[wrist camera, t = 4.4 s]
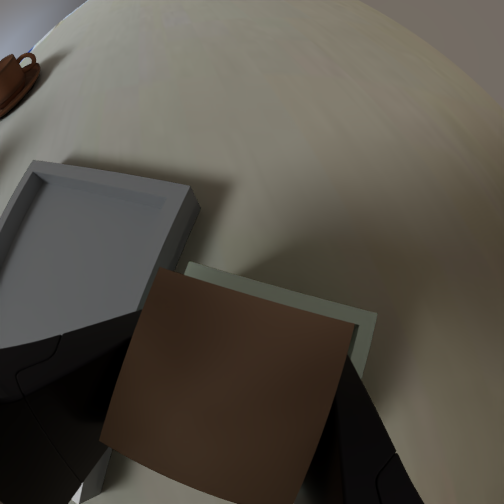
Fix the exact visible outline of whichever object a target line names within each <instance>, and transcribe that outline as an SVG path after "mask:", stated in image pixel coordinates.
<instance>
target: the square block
mask: <svg viewBox="0 0 504 504" xmlns="http://www.w3.org/2000/svg"><path fill="white" fill-rule="evenodd" d="M354 325H355V324H354V323H350V322H346V321H342V320H339V319H335V318H331V317H327V316H323V315H320V314H316V313H312V312H309V311H305V310H301V309H298V308H294V307H290V306H287V305H283V304H280V303H276V302H273V301H269V300H266V299H262V298H259V297H255V296H252V295H249V294H245V293H242V292H239V291H235V290H232V289H229V288H225V287H222V286H219V285H215V284H212V283H209V282H206V281H202V280H199V279H196V278H193V277H190V276H186V275H183V274H180V273H177V272H174V271H171V270H168V269H165V268H162V267H159V269H158V272H157V274H156V276H155V279H154V281H153V284H152V286H151V289H150V291H149V294H148V296H147V299H146V301H145V304H144V307H143V309H142V312H141V314H140V317H139V320H138V322H137V325H136V328H135V330H134V333H133V336H132V339H131V342H130V344H129V347H128V350H127V353H126V356H125V359H124V361H123V364H122V367H121V370H120V373H119V376H118V379H117V382H116V385H115V389H114V392H113V395H112V398H111V401H110V405H109V408H108V411H107V414H106V418H105V421H104V425H103V428H102V432H101V435H100V439H99V441H100V442H102V443H104V444H105V445H107V446H109V447H110V448H112V449H114V450H115V451H117V452H119V453H121V454H123V455H124V456H126V457H128V458H130V459H132V460H134V461H135V462H137V463H139V464H141V465H143V466H145V467H147V468H149V469H151V470H153V471H155V472H157V473H160V474H162V475H164V476H166V477H168V478H170V479H173V480H175V481H177V482H180V483H182V484H184V485H187V486H189V487H192V488H194V489H197V490H199V491H202V492H205V493H207V494H210V495H213V496H216V497H218V498H221V499H224V500H227V501H230V502H234V503H237V504H293V503H294V501H295V499H296V497H297V494H298V492H299V490H300V488H301V485H302V483H303V481H304V478H305V476H306V473H307V471H308V469H309V466H310V464H311V461H312V459H313V456H314V453H315V451H316V448H317V445H318V443H319V440H320V437H321V435H322V432H323V429H324V426H325V423H326V420H327V418H328V415H329V412H330V409H331V406H332V403H333V399H334V396H335V393H336V390H337V387H338V383H339V380H340V377H341V373H342V370H343V367H344V363H345V360H346V356H347V352H348V349H349V345H350V341H351V337H352V333H353V329H354Z"/></svg>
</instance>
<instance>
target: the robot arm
mask: <svg viewBox="0 0 504 504" xmlns="http://www.w3.org/2000/svg"><path fill="white" fill-rule="evenodd" d="M141 312H142V309H141V310H138V311H134V312H131V313H128V314H125V315H122V316H119V317H115V318H112V319H109V320H106V321H102V322H99V323H96V324H93V325H89V326H86V327H83V328H80V329H76V330H73V331H70V332H66V333H63V334H62V335H61V334H59V335H56V336H53V337H49V338H46V339H42V340H38V341H35V342H31V343H26V344H22V345H17V346H12V347H7V348H1V349H0V504H68V503H69V502H70V500H71V499H72V498H73V496H74V495H75V493H76V492H77V491H78V489H79V488H80V486H81V485H82V483H83V482H84V481H85V479H86V478H87V476H88V475H89V474H90V472H91V471H92V470H93V468H94V467H95V465H96V464H97V463H98V461H99V460H100V458H101V457H102V456H103V454H104V453H105V452H106V450H107V449H108V447H109V446H107V445H105V444H104V443H102V442H100V441H99V439H100V435H101V432H102V428H103V425H104V421H105V418H106V414H107V411H108V408H109V405H110V401H111V398H112V395H113V392H114V389H115V385H116V382H117V379H118V376H119V373H120V370H121V367H122V364H123V361H124V359H125V356H126V353H127V350H128V347H129V344H130V342H131V339H132V336H133V333H134V330H135V328H136V325H137V322H138V320H139V317H140V314H141ZM395 452H396V449H395V447H394V445H393V443H392V441H391V439H390V437H389V435H388V433H387V431H386V429H385V427H384V425H383V422H382V420H381V418H380V416H379V414H378V412H377V410H376V408H375V406H374V404H373V402H372V400H371V398H370V396H369V394H368V392H367V390H366V388H365V386H364V384H363V383H362V381H361V379H360V377H359V375H358V373H357V371H356V369H355V367H354V365H353V363H352V361H351V359H350V357H349V355H348V354H347V356H346V360H345V363H344V367H343V370H342V373H341V377H340V380H339V383H338V387H337V390H336V393H335V396H334V399H333V403H332V406H331V409H330V412H329V415H328V418H327V420H326V423H325V426H324V429H323V432H322V435H321V437H320V440H319V443H318V445H317V448H316V451H315V453H314V456H313V459H312V461H311V464H310V466H309V469H308V471H307V473H306V476H305V478H304V481H303V483H302V485H301V488H300V490H299V492H298V494H297V497H296V499H295V501H294V504H424V502H423V501H422V499H421V497H420V496H419V494H418V492H417V490H416V489H415V487H414V485H413V484H412V482H411V480H410V478H409V476H408V474H407V472H406V470H405V468H404V466H403V464H402V462H401V460H400V457H399V455H398V454H397V453H395Z"/></svg>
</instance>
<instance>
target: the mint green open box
mask: <svg viewBox="0 0 504 504" xmlns="http://www.w3.org/2000/svg"><path fill="white" fill-rule="evenodd" d="M184 275H186V276H190V277H193V278H196V279H199V280H202V281H206V282H209V283H212V284H215V285H219V286H222V287H225V288H229V289H232V290H235V291H239V292H242V293H245V294H249V295H252V296H255V297H259V298H262V299H266V300H269V301H273V302H276V303H280V304H283V305H287V306H290V307H294V308H298V309H301V310H305V311H309V312H312V313H316V314H320V315H323V316H327V317H331V318H335V319H339V320H342V321H346V322H350V323H354V324H355V325H354V329H353V333H352V337H351V341H350V345H349V349H348V352H347V354H348V355H349V357H350V359H351V361H352V363H353V365H354V367H355V369H356V371H357V373H358V375H359V377H360V379H362V375H363V371H364V368H365V364H366V360H367V357H368V353H369V349H370V345H371V341H372V336H373V332H374V328H375V323H376V319H377V314H378V313H375V312H371V311H367V310H363V309H359V308H355V307H351V306H348V305H344V304H340V303H336V302H332V301H329V300H325V299H321V298H318V297H314V296H310V295H306V294H303V293H299V292H296V291H292V290H288V289H285V288H281V287H277V286H274V285H270V284H267V283H263V282H260V281H256V280H253V279H249V278H246V277H242V276H239V275H235V274H232V273H228V272H225V271H221V270H218V269H215V268H211V267H208V266H204V265H201V264H198V263H194V262H191V261H189V263H188V265H187V268H186V270H185V273H184Z"/></svg>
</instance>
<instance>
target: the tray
mask: <svg viewBox="0 0 504 504" xmlns="http://www.w3.org/2000/svg"><path fill="white" fill-rule="evenodd" d="M200 209H201V207H200V205H199V203H198V201H197V199H196V197H195V195H194V193H193V190H192V188H191V186H188V185H183V184H178V183H173V182H168V181H163V180H157V179H152V178H146V177H141V176H135V175H129V174H124V173H118V172H112V171H106V170H99V169H93V168H87V167H80V166H73V165H66V164H59V163H52V162H44V161H36V160H33V161H32V163H31V164H30V166H29V167H28V169H27V171H26V172H25V174H24V176H23V177H22V179H21V181H20V182H19V184H18V186H17V187H16V189H15V191H14V193H13V195H12V196H11V198H10V200H9V202H8V204H7V206H6V208H5V210H4V212H3V214H2V216H1V218H0V349H1V348H7V347H12V346H17V345H22V344H26V343H31V342H35V341H38V340H42V339H46V338H49V337H53V336H56V335H59V334H61V335H62V334H63V333H66V332H70V331H73V330H76V329H80V328H83V327H86V326H89V325H93V324H96V323H99V322H102V321H106V320H109V319H112V318H115V317H119V316H122V315H125V314H128V313H131V312H134V311H138V310H141V309H143V307H144V304H145V301H146V299H147V296H148V294H149V291H150V289H151V286H152V284H153V281H154V279H155V276H156V274H157V272H158V269H159V267H162V268H165V269H168V270H171V271H174V270H175V267H176V265H177V263H178V260H179V258H180V255H181V253H182V250H183V248H184V246H185V243H186V241H187V239H188V236H189V234H190V232H191V229H192V227H193V225H194V222H195V220H196V218H197V215H198V213H199V211H200ZM111 452H112V448H110V447H108V449H107V450H106V452H105V453H104V454H103V456H102V457H101V458H100V460H99V461H98V463H97V464H96V465H95V467H94V468H93V470H92V471H91V472H90V474H89V475H88V476H87V478H86V479H85V481H84V482H83V483H82V485H81V486H80V488H79V489H78V491H77V492H76V493H75V495H74V496H73V498H72V500H73V501H74V502H76V503H77V504H81V503H83V502H85V501H87V500H89V499H91V498H93V497H95V496H97V495H99V494H100V493H101V489H102V485H103V481H104V477H105V474H106V470H107V466H108V462H109V459H110V455H111Z"/></svg>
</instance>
